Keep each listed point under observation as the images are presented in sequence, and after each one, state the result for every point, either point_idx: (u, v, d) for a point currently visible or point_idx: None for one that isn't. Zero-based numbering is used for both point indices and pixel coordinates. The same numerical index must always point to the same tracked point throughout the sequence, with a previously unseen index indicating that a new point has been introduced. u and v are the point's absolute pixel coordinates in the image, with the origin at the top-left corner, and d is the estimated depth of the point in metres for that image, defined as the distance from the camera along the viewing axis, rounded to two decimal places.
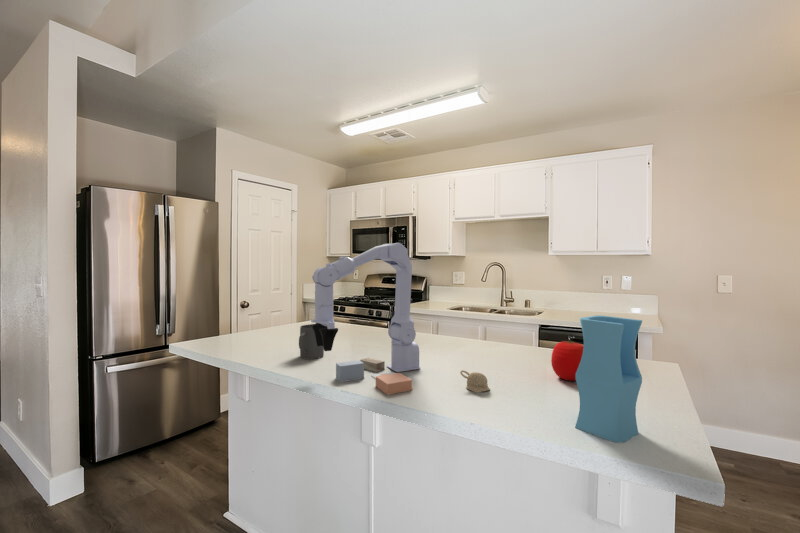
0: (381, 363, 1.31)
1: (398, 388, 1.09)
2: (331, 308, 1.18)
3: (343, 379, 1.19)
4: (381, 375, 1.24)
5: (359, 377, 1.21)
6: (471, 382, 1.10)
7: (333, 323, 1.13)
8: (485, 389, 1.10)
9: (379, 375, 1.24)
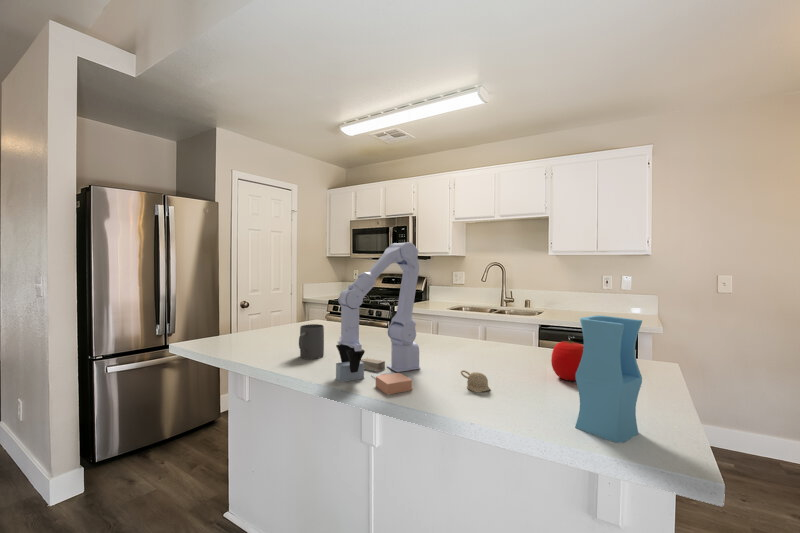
0: (382, 363, 1.31)
1: (398, 388, 1.09)
2: (357, 330, 1.20)
3: (343, 379, 1.19)
4: (381, 375, 1.24)
5: (359, 377, 1.21)
6: (471, 382, 1.11)
7: (360, 345, 1.16)
8: (485, 389, 1.10)
9: (379, 375, 1.24)
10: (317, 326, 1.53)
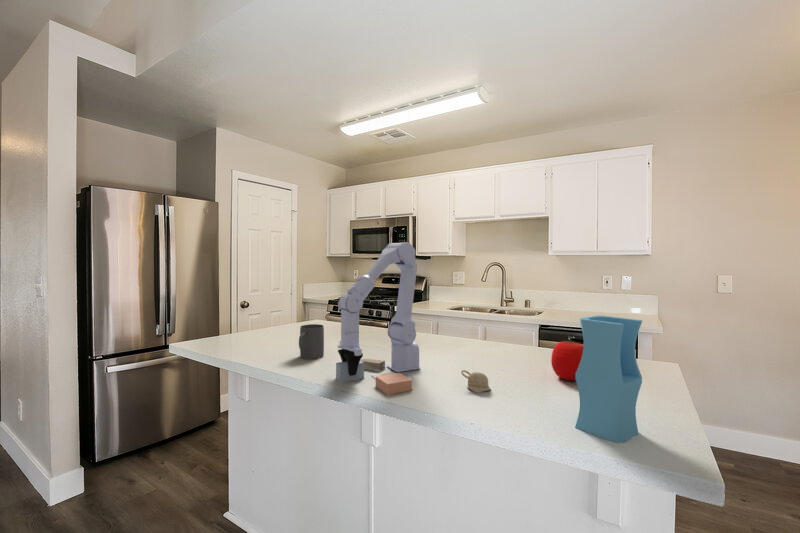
0: (382, 362, 1.32)
1: (398, 388, 1.09)
2: (357, 334, 1.20)
3: (343, 379, 1.19)
4: (381, 375, 1.24)
5: (359, 377, 1.21)
6: (472, 382, 1.11)
7: (360, 350, 1.16)
8: (486, 389, 1.10)
9: (379, 375, 1.24)
10: (317, 326, 1.53)
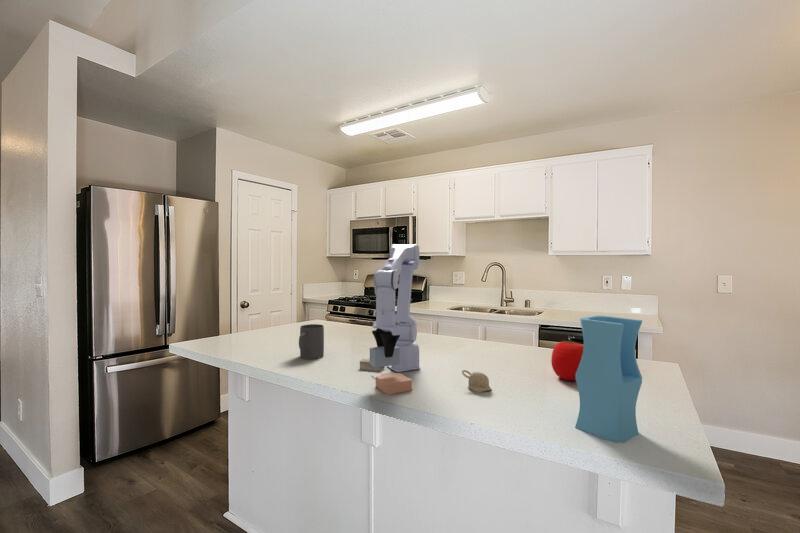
0: None
1: (398, 388, 1.09)
2: (394, 313, 1.12)
3: (378, 364, 1.11)
4: (381, 375, 1.24)
5: (394, 363, 1.13)
6: (472, 382, 1.11)
7: (398, 329, 1.08)
8: (486, 389, 1.10)
9: (379, 375, 1.24)
10: (317, 326, 1.53)
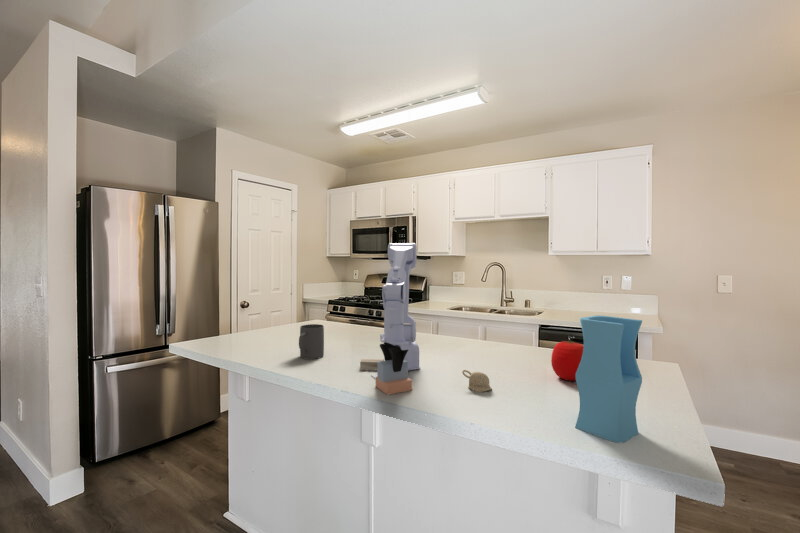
0: None
1: (398, 388, 1.09)
2: (402, 327, 1.11)
3: (386, 379, 1.09)
4: None
5: (403, 377, 1.12)
6: (473, 382, 1.11)
7: (407, 344, 1.06)
8: (487, 389, 1.10)
9: None
10: (317, 326, 1.53)
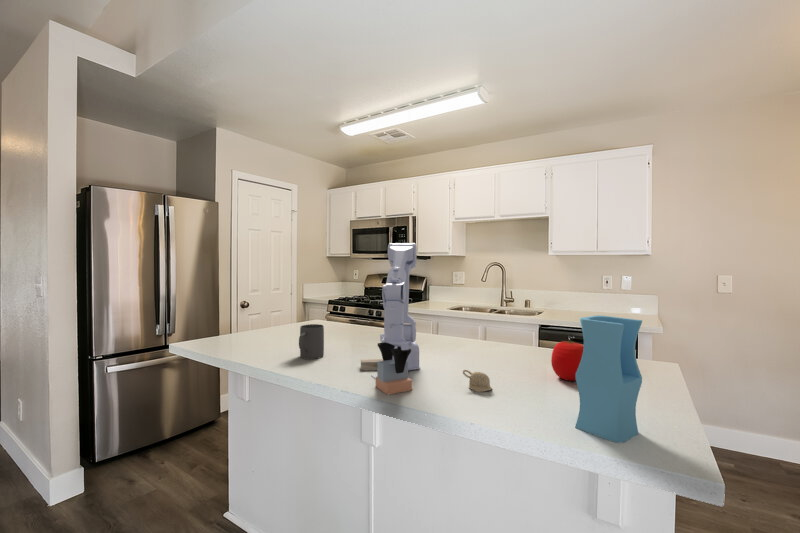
0: None
1: (398, 388, 1.09)
2: (402, 327, 1.11)
3: (386, 379, 1.09)
4: None
5: (403, 377, 1.12)
6: (473, 382, 1.11)
7: (407, 344, 1.06)
8: (487, 389, 1.10)
9: None
10: (317, 326, 1.53)
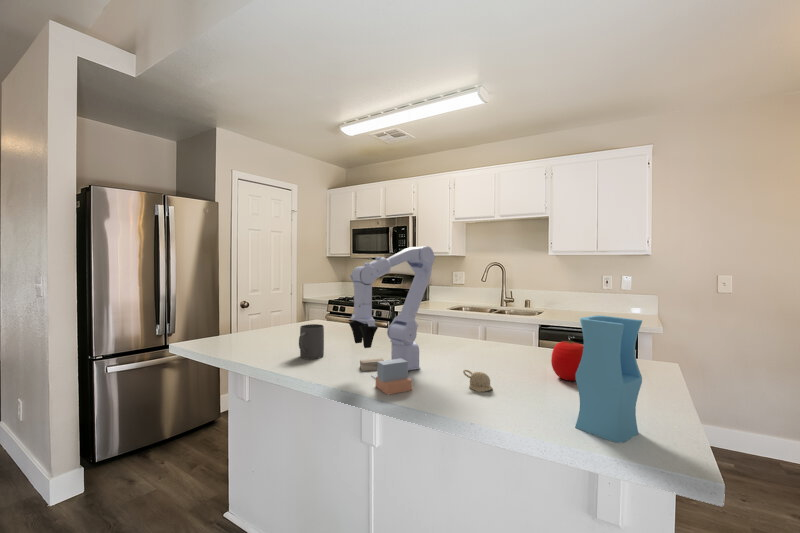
0: None
1: (398, 388, 1.09)
2: (370, 306, 1.21)
3: (386, 379, 1.09)
4: None
5: (403, 377, 1.12)
6: (474, 381, 1.11)
7: (374, 321, 1.16)
8: (487, 389, 1.10)
9: None
10: (317, 326, 1.53)
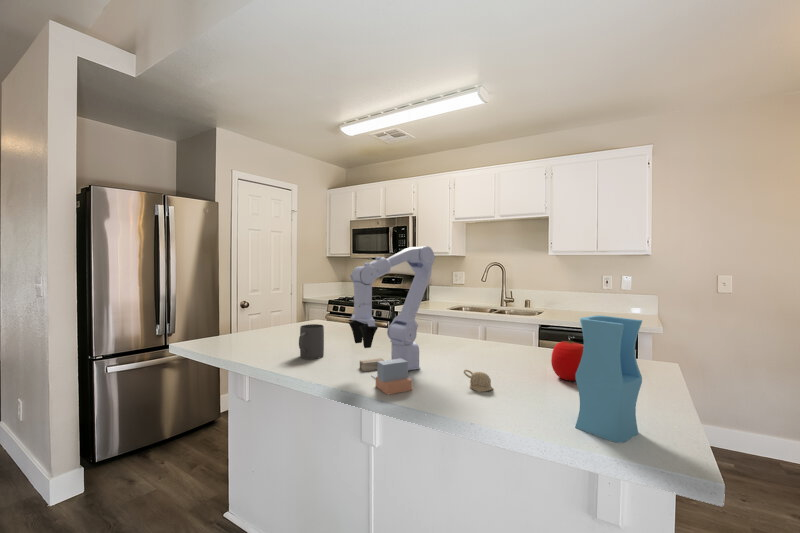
0: None
1: (398, 388, 1.09)
2: (370, 306, 1.21)
3: (386, 379, 1.09)
4: None
5: (403, 377, 1.12)
6: (474, 381, 1.11)
7: (374, 321, 1.16)
8: (488, 389, 1.10)
9: None
10: (317, 326, 1.53)
